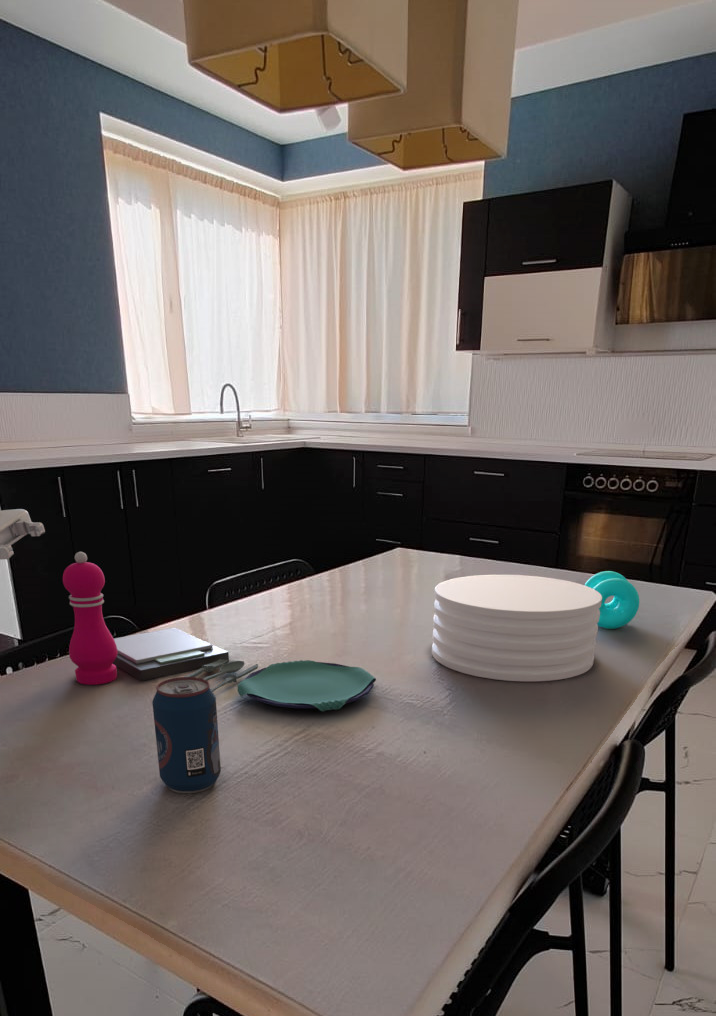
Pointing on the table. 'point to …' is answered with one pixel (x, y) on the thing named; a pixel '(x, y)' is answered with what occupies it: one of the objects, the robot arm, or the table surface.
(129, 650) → the kitchen scale
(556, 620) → the plate stack
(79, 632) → the pepper mill
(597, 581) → the donuts
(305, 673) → the cutlery set
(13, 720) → the table surface
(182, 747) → the soda can
